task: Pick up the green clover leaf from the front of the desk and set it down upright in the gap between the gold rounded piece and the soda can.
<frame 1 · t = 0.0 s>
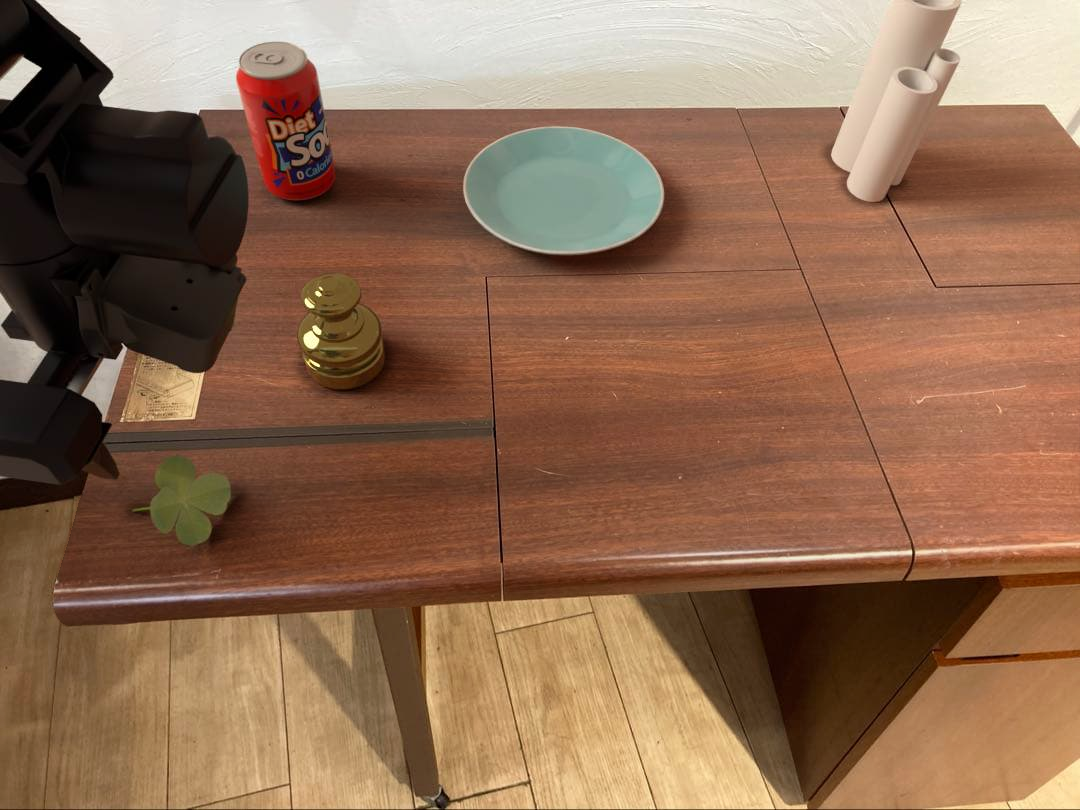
hand: (143, 415, 51), 16 cm above the table, tool pointing down, fingers open, 9 cm apart
plate: (562, 205, 91), on the table
vase: (866, 172, 98), on the table
soda can: (301, 185, 91), on the table
gold rounded piece: (346, 362, 76), on the table
green clover leaf: (189, 509, 66), on the table
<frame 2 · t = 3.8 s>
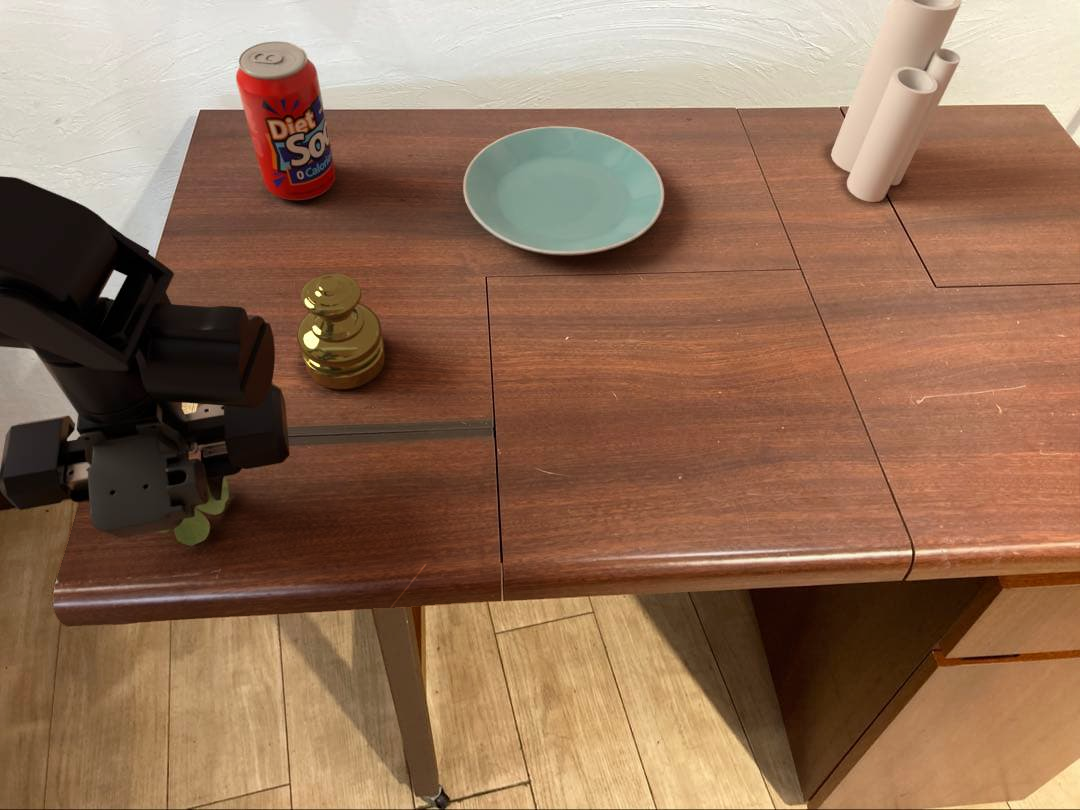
hand: (187, 501, 65), 1 cm above the table, tool pointing down, fingers closed on green clover leaf, 4 cm apart
green clover leaf: (187, 509, 66), on the table, touching gripper
everything else where it was.
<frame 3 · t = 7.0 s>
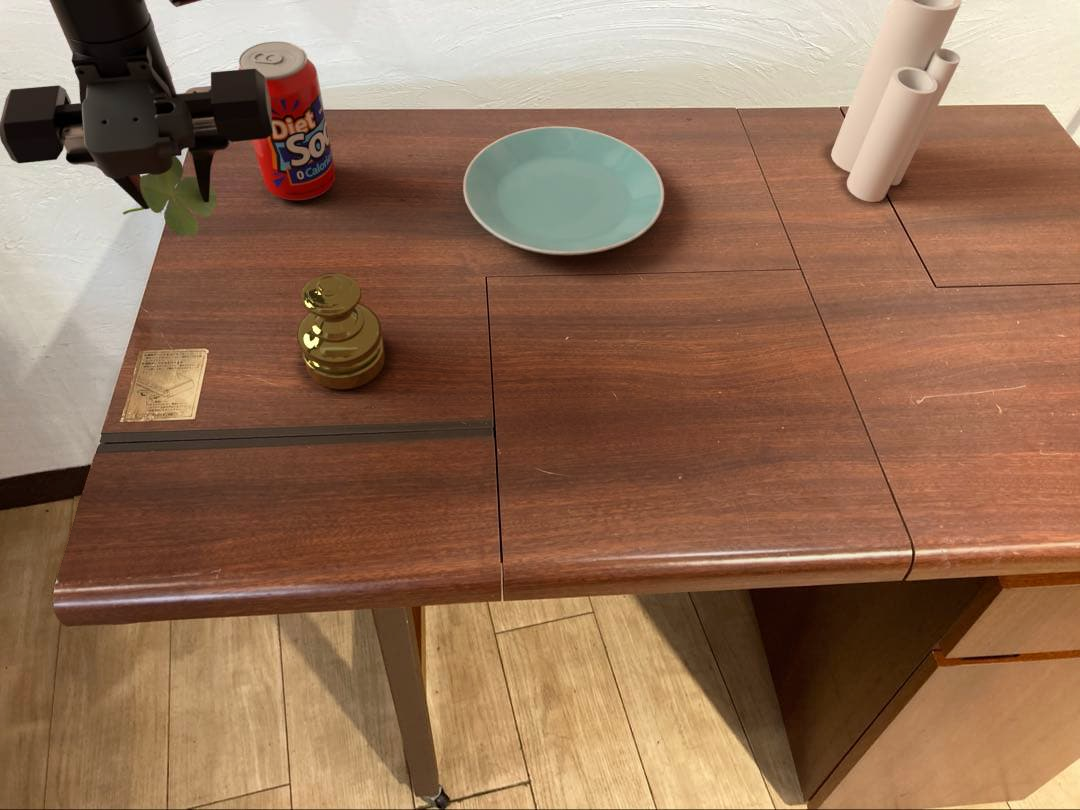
hand: (176, 202, 68), 13 cm above the table, tool pointing down, fingers closed on green clover leaf, 4 cm apart
green clover leaf: (177, 214, 69), point 12 cm above the table, touching gripper
everything else where it was.
when the fingers open (1 cm above the table, at t = 10.4 s): green clover leaf stays where it is, on the table.
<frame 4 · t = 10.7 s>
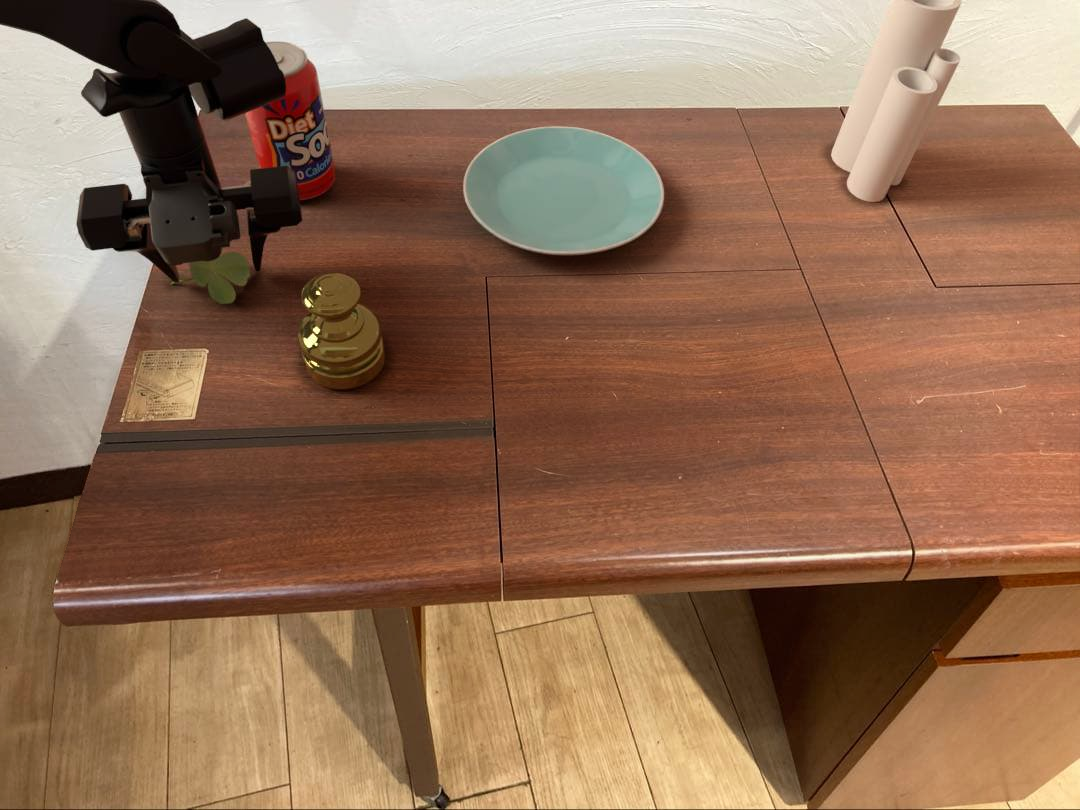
hand: (217, 274, 80), 1 cm above the table, tool pointing down, fingers open, 7 cm apart
green clover leaf: (217, 283, 81), on the table
everything else where it was.
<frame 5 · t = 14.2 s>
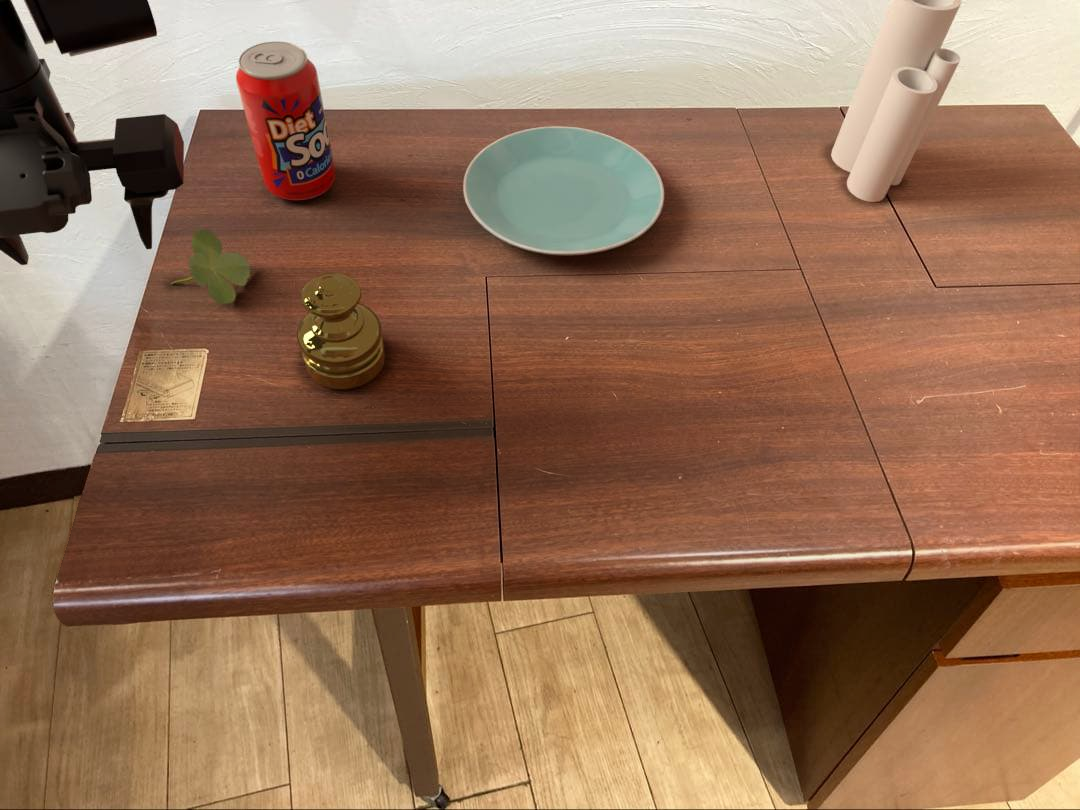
hand: (88, 253, 64), 13 cm above the table, tool pointing down, fingers open, 9 cm apart
nothing on the table moved.
at the end: green clover leaf inside the target area on the table beside the soda can (0.4 cm from its centre), on the table; green clover leaf tilted 1°; soda can moved 0.2 cm from its start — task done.
